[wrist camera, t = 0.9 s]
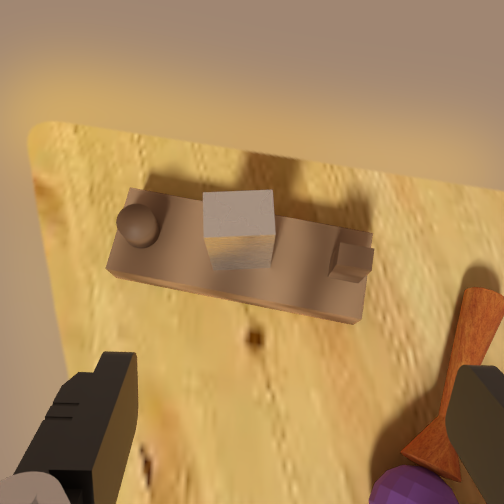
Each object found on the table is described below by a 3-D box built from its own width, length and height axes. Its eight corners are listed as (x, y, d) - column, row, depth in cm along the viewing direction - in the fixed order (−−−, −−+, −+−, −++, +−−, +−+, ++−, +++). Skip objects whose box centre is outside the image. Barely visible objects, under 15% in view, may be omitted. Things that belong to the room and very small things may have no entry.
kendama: (547, 311, 34) (466, 601, 28) (491, 321, 40) (412, 564, 33) (479, 271, 34) (381, 554, 27) (433, 286, 40) (342, 525, 33)
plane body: (363, 244, 40) (387, 214, 33) (352, 324, 38) (375, 310, 31) (138, 201, 41) (116, 164, 34) (116, 277, 39) (88, 254, 32)
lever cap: (267, 226, 37) (272, 183, 29) (270, 267, 36) (275, 234, 28) (212, 229, 37) (202, 186, 29) (213, 270, 36) (203, 237, 28)
